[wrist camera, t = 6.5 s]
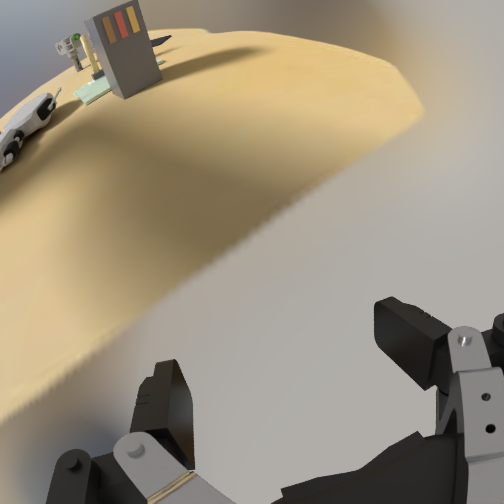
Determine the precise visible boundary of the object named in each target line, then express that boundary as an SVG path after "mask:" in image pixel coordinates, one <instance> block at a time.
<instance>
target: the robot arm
mask: <svg viewBox="0 0 504 504" xmlns="http://www.w3.org/2000/svg"><path fill="white" fill-rule="evenodd" d="M374 337H375V341H376V343H377V345H378V347H379V348H380V349H381V350H382V351H383V352H384V353H385V354H386V355H387V356H389V357H390V358H391V359H392V360H393V361H394V362H395V363H396V364H397V365H398V366H399V367H400V368H401V369H402V370H403V371H404V372H405V373H407V374H408V375H409V376H410V377H411V378H412V379H413V380H414V381H415V382H416V383H417V384H418V385H419V386H420V387H421V388H422V389H423V390H424V391H426V390H427V389H429V388H430V387H432V386H434V385H436V386H437V391H436V431H435V435H432V436H428V437H424V438H423V437H422V435H421V434H420V433H419V432H418V431H416V432H415V433H413V434H411V435H410V436H408V437H406V438H404V439H402V440H401V441H399V442H397V443H395V444H393V445H391V446H389V447H388V448H387V449H386V450H384V451H383V452H382V453H381V454H379V455H378V456H377V457H376V458H374V459H373V460H372V461H370V462H369V463H368V464H367V465H365V466H364V467H362V468H361V469H359V470H356V471H351V472H347V473H341V474H335V475H330V476H323V477H317V478H314V479H311V480H308V481H305V482H302V483H299V484H295V485H292V486H289V487H285V488H282V489H281V492H282V495H283V497H282V498H280V499H278V500H276V501H275V502H273V503H271V504H504V313H503V314H499V315H498V316H496V317H495V319H494V323H493V327H492V329H490V330H487V331H484V332H481V333H480V332H479V331H478V330H477V329H475V328H472V327H466V326H463V327H458V328H455V329H452V328H450V327H449V326H447V325H446V324H444V323H442V322H441V321H439V320H438V319H436V318H434V317H433V316H432V317H431V315H429V314H428V313H426V312H424V311H423V310H421V309H420V308H418V307H416V306H414V305H410V304H406V303H402V302H401V301H399V300H397V299H396V298H394V297H388V298H386V299H383V300H381V301H378V302H376V303H375V305H374ZM137 397H138V398H137V399H136V406H135V408H134V413H133V418H132V423H131V428H130V433H129V434H127V435H125V436H123V437H122V438H121V439H120V440H119V441H118V442H117V443H116V445H115V447H114V451H113V452H112V453H109V454H106V455H102V456H98V457H95V458H91V457H90V455H89V454H88V453H87V452H85V451H83V450H80V449H73V450H70V451H67V452H65V453H64V454H62V456H61V457H60V458H59V459H58V461H57V463H56V466H55V469H54V473H53V477H52V481H51V484H50V488H49V492H48V497H47V501H46V504H236V503H235V502H233V501H232V500H230V499H229V498H228V497H226V496H225V495H223V494H222V493H221V492H219V491H218V490H217V489H215V488H214V487H213V486H211V485H210V484H209V483H208V482H206V481H205V480H204V479H203V478H201V477H200V476H199V475H198V474H196V473H195V472H193V471H192V472H189V471H188V470H195V458H194V434H193V403H192V397H191V393H190V390H189V388H188V385H187V383H186V381H185V379H184V376H183V374H182V372H181V369H180V367H179V364H178V362H177V361H176V360H175V359H173V360H168V361H163V362H157V363H156V365H155V370H154V375H153V376H152V377H146V379H145V380H144V381H143V383H142V384H141V385H140V387H139V391H138V395H137Z"/></svg>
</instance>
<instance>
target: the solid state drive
mask: <svg viewBox="0 0 504 504" xmlns="http://www.w3.org/2000/svg"><path fill="white" fill-rule="evenodd" d="M170 37H171V35H169V36H165V37H161V38H157V39H154V40H150V42H151V45H152V47H155V46H158V45H161V44H162V43H163V42H165V41H166V40H167V39H168V38H170Z"/></svg>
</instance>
